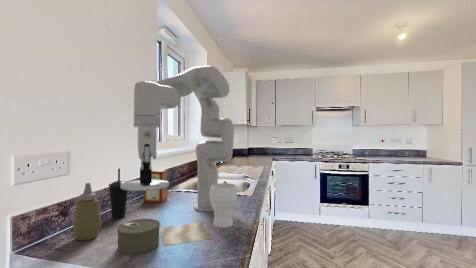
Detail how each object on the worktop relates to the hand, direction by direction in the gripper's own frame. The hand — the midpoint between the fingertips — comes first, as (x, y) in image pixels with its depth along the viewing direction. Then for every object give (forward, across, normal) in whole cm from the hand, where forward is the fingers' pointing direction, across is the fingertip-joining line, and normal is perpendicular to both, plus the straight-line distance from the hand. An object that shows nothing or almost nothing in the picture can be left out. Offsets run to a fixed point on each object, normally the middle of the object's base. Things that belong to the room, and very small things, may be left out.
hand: (145, 181), depth 78 cm
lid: (+2, 0, 0) cm, 2 cm away
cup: (+20, +9, -29) cm, 36 cm away
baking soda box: (+20, +56, -7) cm, 59 cm away
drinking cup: (+20, +34, +9) cm, 40 cm away
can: (+20, 0, +2) cm, 20 cm away
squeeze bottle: (+20, +14, +17) cm, 30 cm away
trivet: (+20, +6, -14) cm, 25 cm away
